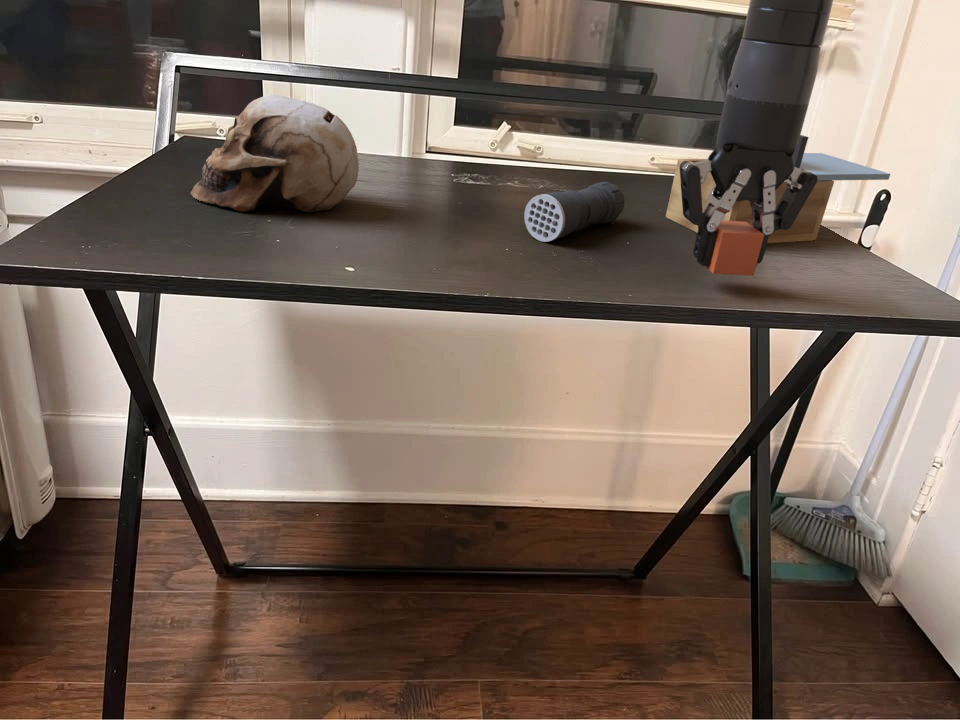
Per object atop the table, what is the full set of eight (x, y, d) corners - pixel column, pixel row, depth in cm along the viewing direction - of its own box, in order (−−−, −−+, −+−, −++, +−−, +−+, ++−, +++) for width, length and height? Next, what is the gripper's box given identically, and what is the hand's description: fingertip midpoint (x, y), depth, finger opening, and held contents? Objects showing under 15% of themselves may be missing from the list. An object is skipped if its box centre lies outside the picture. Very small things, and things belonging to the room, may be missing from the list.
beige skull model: (182, 188, 92) (187, 75, 86) (312, 193, 102) (324, 92, 96) (227, 231, 81) (235, 105, 75) (367, 232, 91) (383, 120, 86)
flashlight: (589, 214, 100) (596, 174, 98) (624, 225, 97) (632, 184, 95) (521, 234, 89) (527, 189, 87) (558, 247, 86) (566, 201, 84)
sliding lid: (888, 179, 100) (901, 143, 98) (800, 180, 94) (812, 142, 91) (820, 158, 110) (830, 125, 107) (736, 158, 103) (745, 122, 101)
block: (736, 261, 80) (746, 221, 79) (753, 275, 77) (764, 234, 75) (697, 259, 80) (706, 219, 78) (713, 273, 76) (723, 232, 74)
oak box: (815, 240, 100) (834, 181, 96) (722, 245, 93) (739, 182, 90) (753, 214, 109) (768, 159, 106) (665, 217, 103) (677, 158, 99)
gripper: (711, 94, 66) (672, 274, 74) (859, 105, 68) (806, 281, 76) (682, 83, 73) (649, 250, 81) (818, 94, 75) (773, 256, 82)
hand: (725, 264), depth 78 cm, fingers closed on block, 4 cm apart
